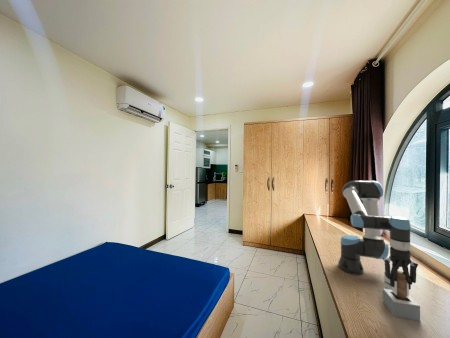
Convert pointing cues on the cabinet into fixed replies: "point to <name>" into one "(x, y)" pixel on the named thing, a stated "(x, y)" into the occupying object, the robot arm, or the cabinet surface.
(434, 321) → the cabinet surface
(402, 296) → the walnut dowel
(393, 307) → the socket block
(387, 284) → the ink box
